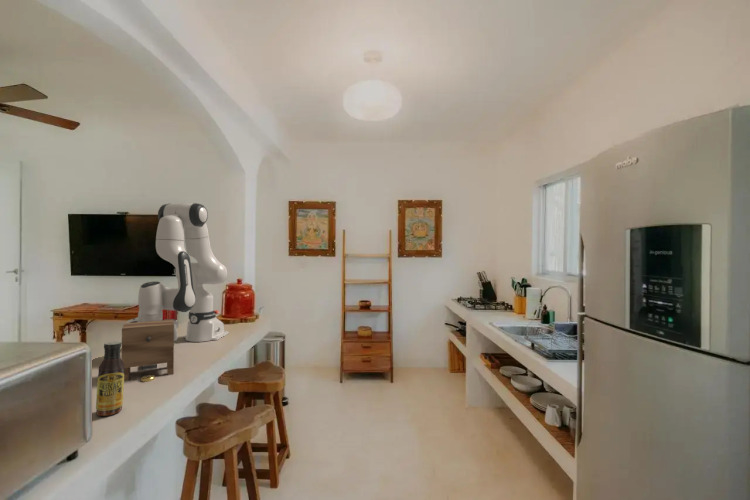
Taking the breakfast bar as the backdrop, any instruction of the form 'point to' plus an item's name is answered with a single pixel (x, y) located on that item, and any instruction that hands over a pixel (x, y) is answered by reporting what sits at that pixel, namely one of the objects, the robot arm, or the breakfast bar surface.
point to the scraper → (149, 367)
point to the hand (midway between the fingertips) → (150, 353)
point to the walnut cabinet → (148, 345)
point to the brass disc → (147, 378)
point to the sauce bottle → (110, 381)
